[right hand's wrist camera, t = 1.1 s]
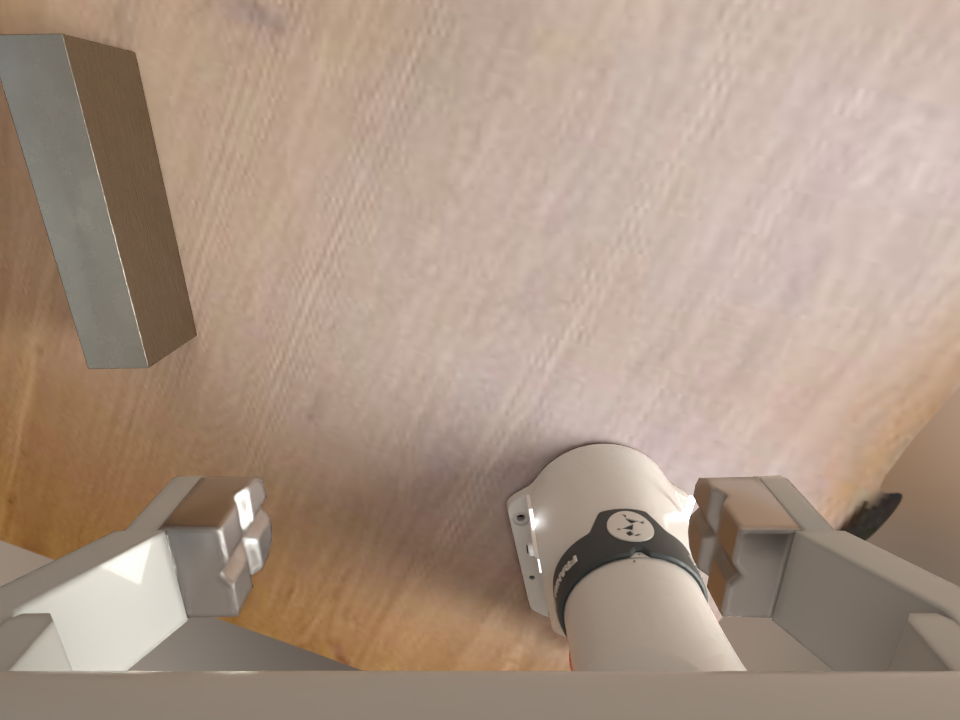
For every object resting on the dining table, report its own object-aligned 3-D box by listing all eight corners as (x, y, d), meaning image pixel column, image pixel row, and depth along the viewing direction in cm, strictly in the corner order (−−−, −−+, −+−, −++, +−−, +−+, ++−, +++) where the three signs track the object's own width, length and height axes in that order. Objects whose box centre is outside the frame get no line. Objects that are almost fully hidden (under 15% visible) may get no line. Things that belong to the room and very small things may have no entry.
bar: (197, 335, 50) (148, 368, 43) (145, 335, 50) (88, 369, 43) (135, 52, 41) (62, 33, 34) (73, 53, 41) (-14, 34, 34)
